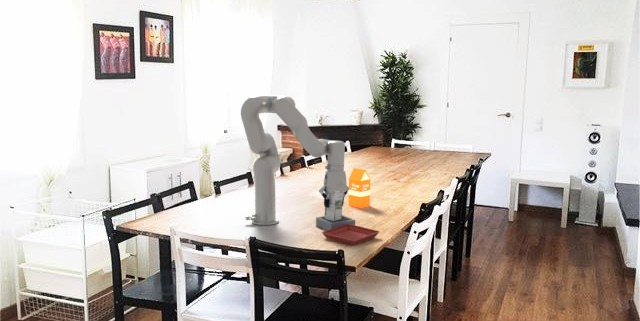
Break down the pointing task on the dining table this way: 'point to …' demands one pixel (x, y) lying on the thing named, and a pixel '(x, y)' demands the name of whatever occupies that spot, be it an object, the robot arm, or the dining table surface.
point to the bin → (333, 222)
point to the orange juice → (359, 188)
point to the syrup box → (334, 206)
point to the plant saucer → (350, 234)
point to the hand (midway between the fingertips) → (333, 205)
